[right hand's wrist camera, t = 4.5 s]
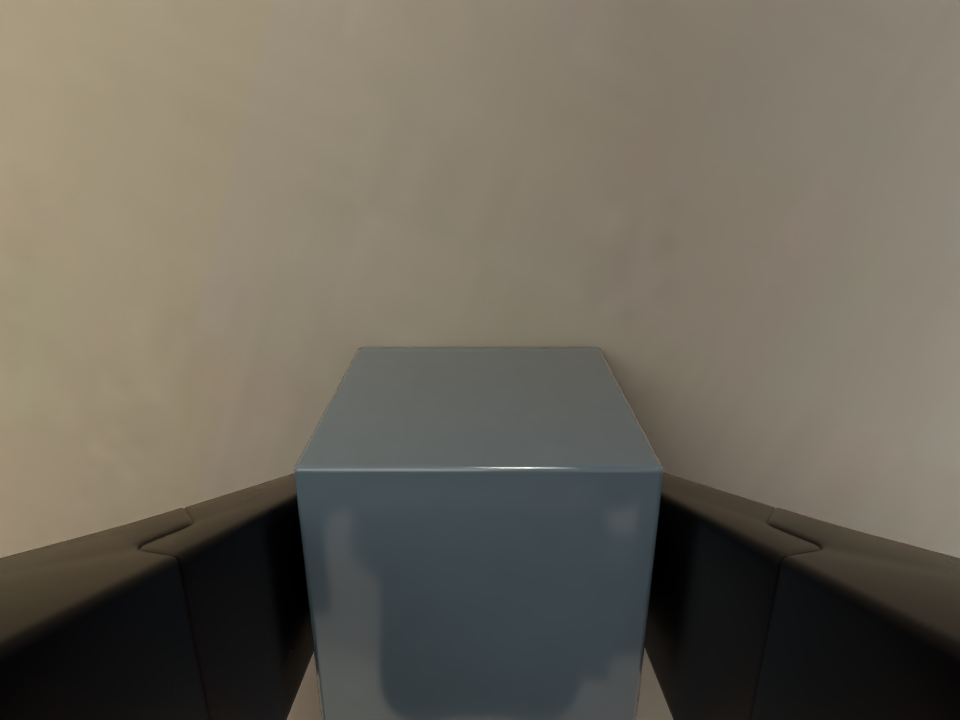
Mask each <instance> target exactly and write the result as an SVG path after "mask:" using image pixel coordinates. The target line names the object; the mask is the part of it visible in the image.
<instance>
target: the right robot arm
mask: <svg viewBox="0 0 960 720" xmlns="http://www.w3.org/2000/svg"><path fill="white" fill-rule="evenodd" d="M645 649H646V652H647V654H648V657H649V659H650V662H651V664H652V667H653V669H654V672H655V674H656V677H657V679H658V682H659V684H660V687H661V690H662V692H663V695H664V697H665V700H666V702H667V705H668V707H669V710H670V712H671V715H672V717H673V720H960V558H956V557H953V556H949V555H945V554H941V553H938V552H934V551H930V550H926V549H923V548H919V547H915V546H911V545H908V544H904V543H900V542H896V541H893V540H889V539H885V538H881V537H878V536H874V535H870V534H866V533H863V532H859V531H855V530H852V529H848V528H845V527H841V526H837V525H834V524H830V523H827V522H823V521H820V520H817V519H813V518H810V517H807V516H803V515H800V514H797V513H793V512H790V511H787V510H784V509H780V508H777V509H775V508H774V507H771V506H768V505H765V504H762V503H758V502H755V501H752V500H749V499H746V498H743V497H739V496H736V495H733V494H730V493H727V492H723V491H720V490H717V489H714V488H711V487H707V486H704V485H701V484H698V483H695V482H692V481H688V480H685V479H682V478H679V477H676V476H672V475H669V474H666V473H664V474H663V483H662V492H661V501H660V510H659V519H658V528H657V537H656V546H655V556H654V565H653V574H652V583H651V592H650V601H649V610H648V619H647V628H646V638H645ZM313 652H314V646H313V637H312V629H311V620H310V611H309V602H308V593H307V584H306V575H305V566H304V557H303V548H302V539H301V530H300V521H299V512H298V503H297V494H296V485H295V476H294V474H291V475H288V476H284V477H281V478H278V479H275V480H272V481H268V482H265V483H262V484H259V485H256V486H252V487H249V488H246V489H243V490H240V491H237V492H233V493H230V494H227V495H224V496H221V497H217V498H214V499H211V500H208V501H205V502H201V503H198V504H195V505H192V506H189V507H186V508H185V509H183V508H179V509H176V510H173V511H170V512H167V513H163V514H160V515H157V516H153V517H150V518H147V519H143V520H140V521H137V522H133V523H130V524H126V525H122V526H119V527H115V528H112V529H108V530H105V531H101V532H97V533H94V534H90V535H86V536H82V537H79V538H75V539H71V540H67V541H64V542H60V543H56V544H52V545H49V546H45V547H41V548H37V549H34V550H30V551H26V552H22V553H18V554H15V555H11V556H7V557H3V558H0V720H287V717H288V715H289V712H290V710H291V707H292V704H293V702H294V699H295V697H296V694H297V692H298V689H299V687H300V684H301V682H302V679H303V677H304V674H305V672H306V669H307V667H308V664H309V662H310V659H311V657H312V654H313Z"/></svg>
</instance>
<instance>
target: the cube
mask: <svg viewBox="0 0 960 720" xmlns="http://www.w3.org/2000/svg"><path fill="white" fill-rule="evenodd" d="M663 474H664V469H663V466H662V464H661V462H660V460H659V459H658V457H657V455H656V453H655V451H654V449H653V447H652V445H651V443H650V442H649V440H648V438H647V436H646V434H645V432H644V430H643V428H642V427H641V425H640V423H639V421H638V419H637V417H636V415H635V413H634V412H633V410H632V408H631V406H630V404H629V402H628V400H627V398H626V397H625V395H624V393H623V391H622V389H621V387H620V385H619V383H618V381H617V380H616V378H615V376H614V374H613V372H612V370H611V368H610V366H609V365H608V363H607V361H606V359H605V357H604V355H603V353H602V351H601V350H600V348H597V347H361V348H359V349H358V350H357V352H356V354H355V356H354V358H353V360H352V361H351V363H350V365H349V367H348V369H347V371H346V373H345V374H344V376H343V378H342V380H341V382H340V384H339V386H338V387H337V389H336V391H335V393H334V395H333V397H332V399H331V400H330V402H329V404H328V406H327V408H326V410H325V412H324V414H323V415H322V417H321V419H320V421H319V423H318V425H317V427H316V428H315V430H314V432H313V434H312V436H311V438H310V440H309V441H308V443H307V445H306V447H305V449H304V451H303V453H302V454H301V456H300V458H299V460H298V462H297V464H296V466H295V468H294V476H295V485H296V494H297V503H298V512H299V521H300V530H301V539H302V548H303V557H304V566H305V575H306V584H307V593H308V602H309V611H310V620H311V629H312V637H313V646H314V655H315V664H316V673H317V682H318V691H319V700H320V709H321V718H322V720H637V710H638V701H639V692H640V683H641V674H642V665H643V656H644V647H645V638H646V628H647V619H648V610H649V601H650V592H651V583H652V574H653V565H654V556H655V546H656V537H657V528H658V519H659V510H660V501H661V492H662V483H663Z"/></svg>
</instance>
